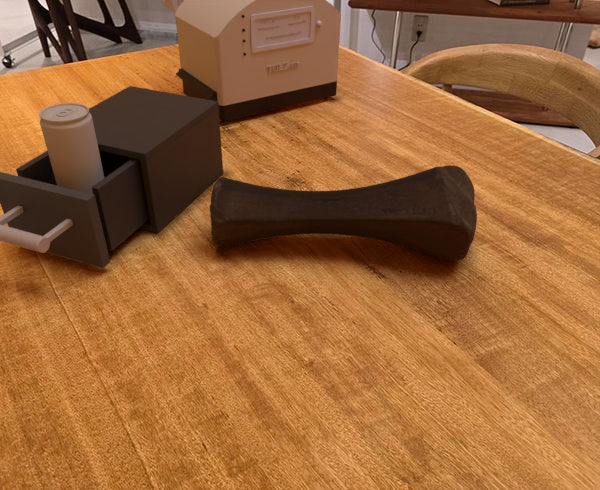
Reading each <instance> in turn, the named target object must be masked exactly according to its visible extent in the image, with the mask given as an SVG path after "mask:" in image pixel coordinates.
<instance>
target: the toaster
mask: <svg viewBox="0 0 600 490" xmlns="http://www.w3.org/2000/svg"><path fill="white" fill-rule="evenodd" d="M161 3H162V4H163V6H164V7H165V8H167V9H168V10H169V11H170V10H171V11H173V15H174V18H175V19H174V20H175V27H176V28H175V29H176V36H177V45H178V55H179V64H180V65H179V66H180V68H178V71H177V72H176V73H175V75H176V76H177V77H178V78H179V79H180V80H181V81H182V92H183V95H185V96H190V97H195V98H201V99H207V100H212V101H218V108H219V121H221V122H222V123H225V124H228V123H230V122H231V121H232V120H237V119H241V118H245V117H249V116H253V115H257V114H262V113H267V112H271V111H275V110H279V109H283V108H289V107H293V106H296V105H302V104H305V103H310V102H314V101H318V100H326V101H327V100H330V98H331V97H336V96H337V89H338V72H339V71H338V69H339V56H340V55H339V54H340V37H341V22H342V21H341V19H342V14H341V12H340V11H339V10H338V9H337V8H336V7H335V6H334V4H332V3H331V2H329V1H328V0H161Z"/></svg>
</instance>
